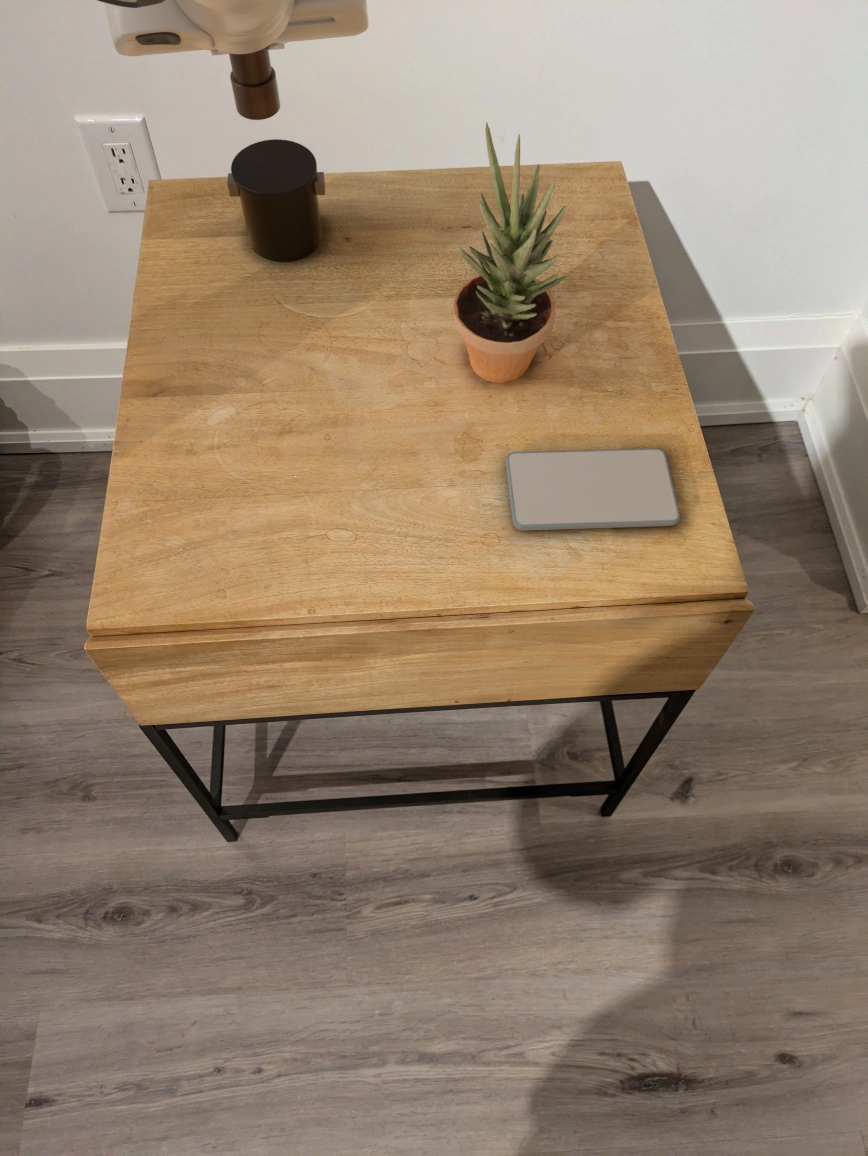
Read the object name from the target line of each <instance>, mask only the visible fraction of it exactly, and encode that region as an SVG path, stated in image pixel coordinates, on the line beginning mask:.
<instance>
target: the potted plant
mask: <svg viewBox="0 0 868 1156" xmlns="http://www.w3.org/2000/svg"><path fill="white" fill-rule="evenodd" d="M484 131H485V140H486V149H487V156H488V157H487V158H488V163H489V169H490V175H491V180H492V186H493V190H494V195H495V199H496V203H497V209H498V212H499V216H500V217H499V218H500V221H501V224H499V222H498V221H497V220H496V218H495V216H494V214H493V213H492V211H491V209H490V206H489V204H488V203H487V201H486V199H485V196H484V195H483V193H482V191H480V192H479V198H480V199H479V200H478V207H479V210H480V214H481V217H482V219H483V222H484V223H485V225H486V227H487V230H488V232H489V235H490V237H491V239H492V242H493V244H492V243H489V241H488V239H487V237H486V234H485V232H484V230H482V231H481V239H482V243H483V246H484V250H485V253H486V254H484V253H482V252H481V251H479V250H477V249H476V248H474V247H473V246H470V245H469V246H468V248H469V250H470V253H471V254H472V255H473V256H474V257H475V258H476V259H477V261H476V260H475V259H474V258H473V257H472V256H471V255H470V254H469V253H467V252H466V251H465V250H464V249H462V248H459V254H460V256H461V257H462V258H463V259H464V260H465V261H466V263H467V264H468V265H469V266H470V267H471V268H472V269H473V270H474V271H475V272H476V273H477V274H478V275H475V276H474V277H471V278H469V279H468V280H466V281H465V282H464V283H463V284H462V285H461V286H460V287H459V289H458V290H457V292H456V293H455V295H454V299H453V318H454V325H455V327H456V330H457V332H458V334H459V336H460V337H461V338H462V339H463V342H464V345H465V348H466V351H467V355H468V359H469V363H470V366H471V368H472V370H473V371H474V373H475V374H476V375H477V376H478V377H479V378H481V379H482V380H484V381H487V382H488V383H489V382H490V383H495V384H503V383H507V382H511V381H515V380H517V379H519V378H520V377H522V376H523V375H524V373H526V371H527V370H528V369H529V366H530V364H531V362H532V361H533V359H534V357H535V355H536V353H537V351H538V349H539V347H540V346H541V345H542V344H543V343H544V342H545V341H546V340H547V338H548V337H549V336H550V334H551V332H552V330H553V326H554V322H555V318H556V312H557V311H556V307H557V306H556V300H555V298H554V296H553V293H552V291H551V289H552V288H554V287H556V286H557V285H559V284H560V283H561V282H563V281H565V280H566V279H567V278H568V277H567V276H565V275H564V276H562V277H560V275H559V274H555V273H554V274H552V275H550V276H549V277H547V278H545V279H543V280H540V279H538V277H539V276H540V275H542V274H543V273H545V272H546V271H547V270H548V269H549V268H550V267H552V266H553V264H555V262H556V261H557V260H558V256H557V255H555V256H553V257H552V258H547V259H545V258H546V256H547V254H548V253H549V251H550V248H551V247H552V244H553V242H554V240H553V239H552V237H553V234H554V233H555V230H556V229H557V228H558V226H559V225H560V223H561V221H562V219H563V217H564V215H565V212H566V205H563V206H562V208H561V209H560V210H559V211H558V213H557V215H556V216H555V217H554V218H553V219H552V221H551V222H550V223H549V224H548V225H547V226H546V227H545V228H544V229H543V227H544V225H545V220H546V216H547V213H548V211H547V208H548V207H549V203H550V200H551V197H552V195H553V191H554V188H555V182H556V180H555V179H553V181H551V183H550V184H549V186H548V187H547V189H546V191H545V192H544V194H543V196H542V198H541V200H540V202H539V203H538V205H537V207H536V203H537V197H538V189H539V183H540V164H537V165H536V168H535V171H534V173H533V176H532V179H531V181H530V184H529V187H528V190H527V192H526V195H525V194H524V193H522V194H521V196H520V186H521V185H520V183H521V181H520V180H521V134H520V133H519V134H518V135H517V139H516V144H515V145H516V146H515V152H514V163H513V167H512V168H513V169H512V185H511V195H510V196H511V197H510V198H511V199H510V200H511V201H510V202H509V198H508V195H507V193H506V192H507V191H506V187H505V183H504V180H503V176H502V172H501V167H500V164H499V160H498V157H497V153H496V149H495V146H494V142H493V137H492V134H491V129H490V127H489V123H488V122H487V121H486V123H485V128H484ZM544 259H545V260H544Z"/></svg>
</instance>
